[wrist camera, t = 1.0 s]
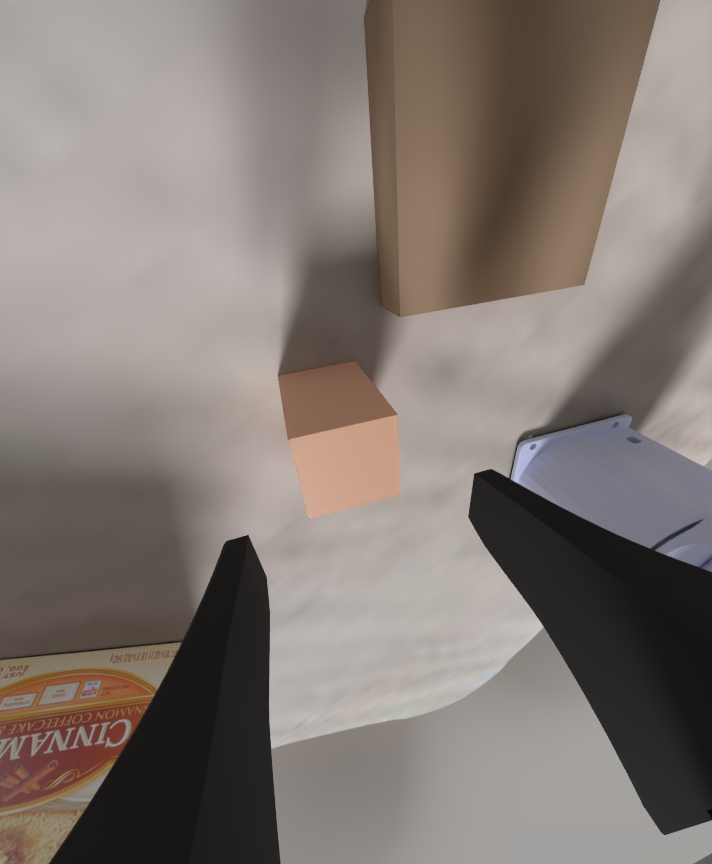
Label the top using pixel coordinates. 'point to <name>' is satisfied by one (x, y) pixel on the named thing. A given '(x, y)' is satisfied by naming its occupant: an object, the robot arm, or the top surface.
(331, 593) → the top surface
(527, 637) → the top surface
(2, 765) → the coffeecake box
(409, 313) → the walnut base block
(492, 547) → the robot arm
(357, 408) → the terracotta block
